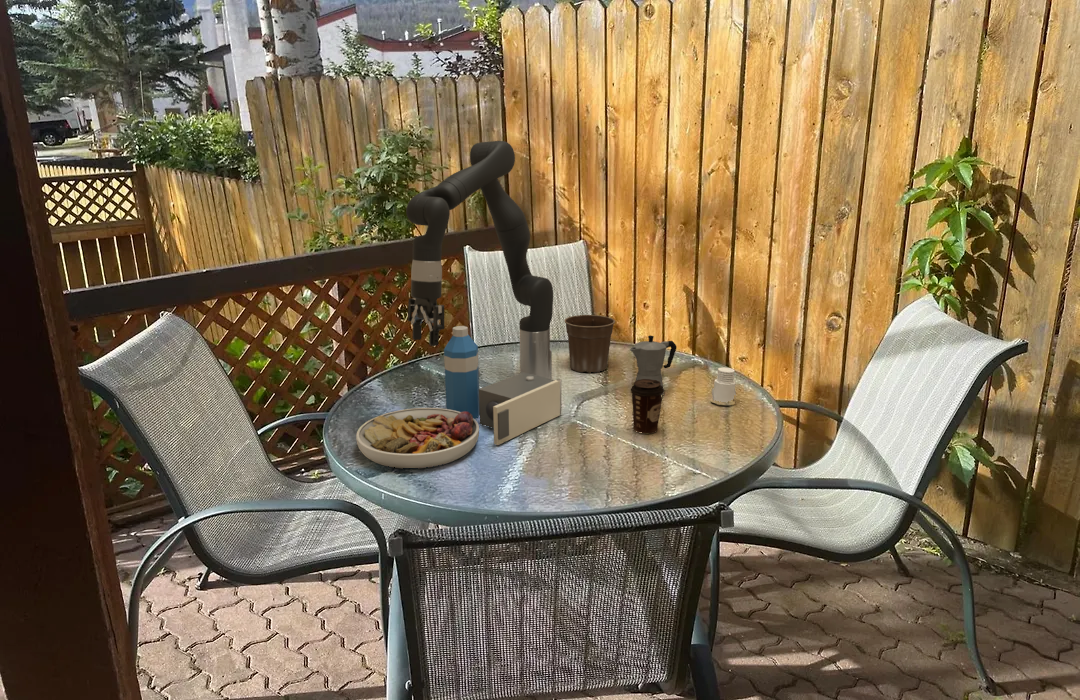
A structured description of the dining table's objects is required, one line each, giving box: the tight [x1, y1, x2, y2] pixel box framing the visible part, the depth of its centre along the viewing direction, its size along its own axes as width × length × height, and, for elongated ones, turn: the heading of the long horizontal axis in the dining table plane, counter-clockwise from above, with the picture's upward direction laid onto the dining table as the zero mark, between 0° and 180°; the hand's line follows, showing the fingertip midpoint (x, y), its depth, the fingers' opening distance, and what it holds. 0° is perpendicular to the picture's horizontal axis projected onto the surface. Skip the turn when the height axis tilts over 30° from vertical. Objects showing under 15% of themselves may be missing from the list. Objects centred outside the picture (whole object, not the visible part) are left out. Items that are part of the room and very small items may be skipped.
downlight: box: [711, 367, 737, 402], centre depth 218 cm, size 8×7×10 cm
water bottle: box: [443, 325, 480, 420], centre depth 207 cm, size 9×9×25 cm
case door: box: [493, 378, 563, 446], centre depth 199 cm, size 27×2×10 cm, turn 141°
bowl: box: [355, 407, 480, 469], centre depth 190 cm, size 30×30×8 cm
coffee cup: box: [630, 379, 665, 434], centre depth 199 cm, size 9×8×13 cm
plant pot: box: [564, 314, 616, 374], centre depth 249 cm, size 16×16×16 cm
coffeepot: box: [629, 335, 677, 395], centre depth 224 cm, size 15×9×18 cm, turn 113°
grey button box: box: [479, 372, 556, 429], centre depth 206 cm, size 19×12×11 cm, turn 141°
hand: (425, 342), depth 193 cm, fingers open, 8 cm apart
